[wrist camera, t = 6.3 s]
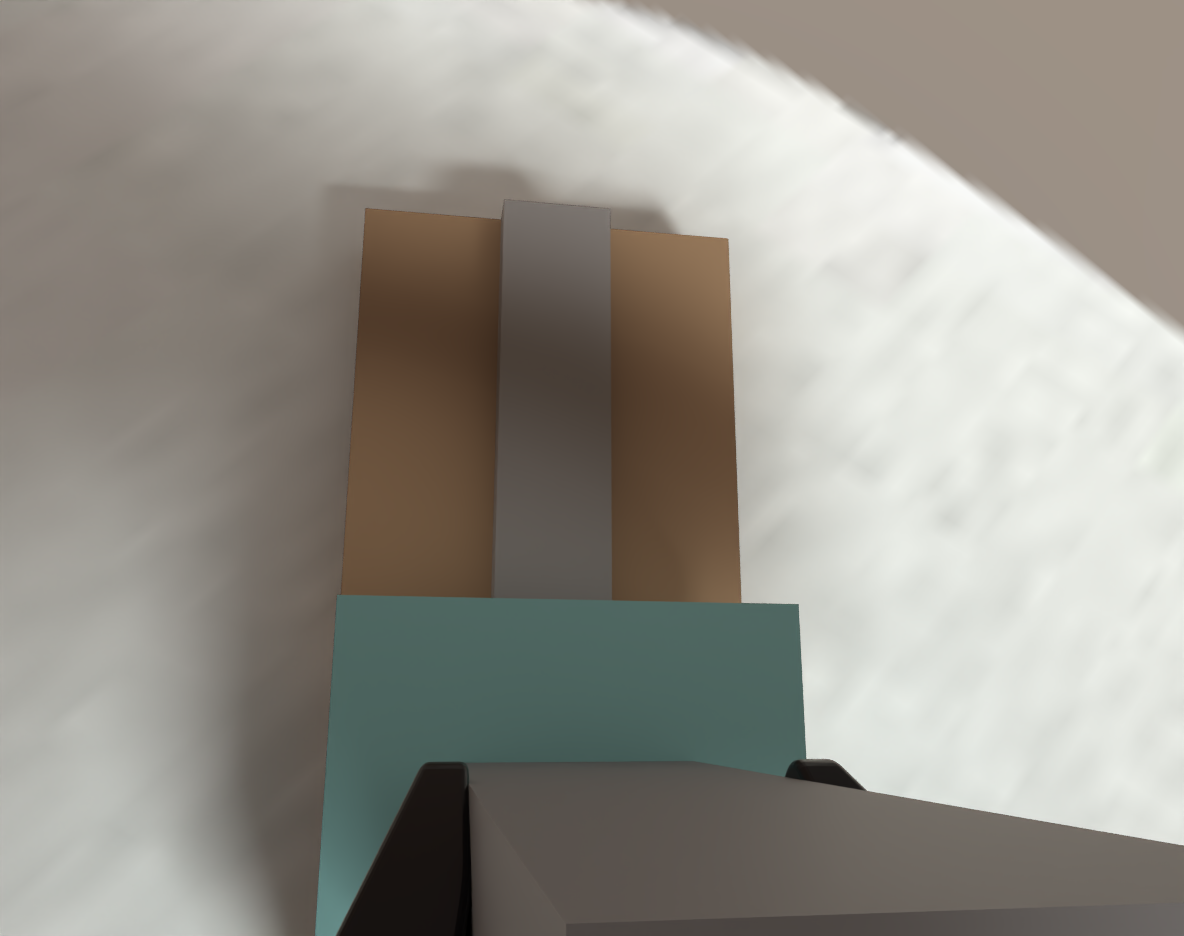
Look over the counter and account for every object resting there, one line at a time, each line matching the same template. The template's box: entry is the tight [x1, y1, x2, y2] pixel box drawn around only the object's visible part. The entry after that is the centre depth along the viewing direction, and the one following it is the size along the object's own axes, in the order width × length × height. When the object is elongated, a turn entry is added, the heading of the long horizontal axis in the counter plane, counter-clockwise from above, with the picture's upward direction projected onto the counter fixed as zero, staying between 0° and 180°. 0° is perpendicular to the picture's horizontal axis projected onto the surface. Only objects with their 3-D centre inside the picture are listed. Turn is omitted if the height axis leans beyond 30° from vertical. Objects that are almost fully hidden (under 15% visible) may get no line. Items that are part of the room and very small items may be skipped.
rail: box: [341, 199, 741, 603], centre depth 13 cm, size 22×6×6 cm, turn 0°
